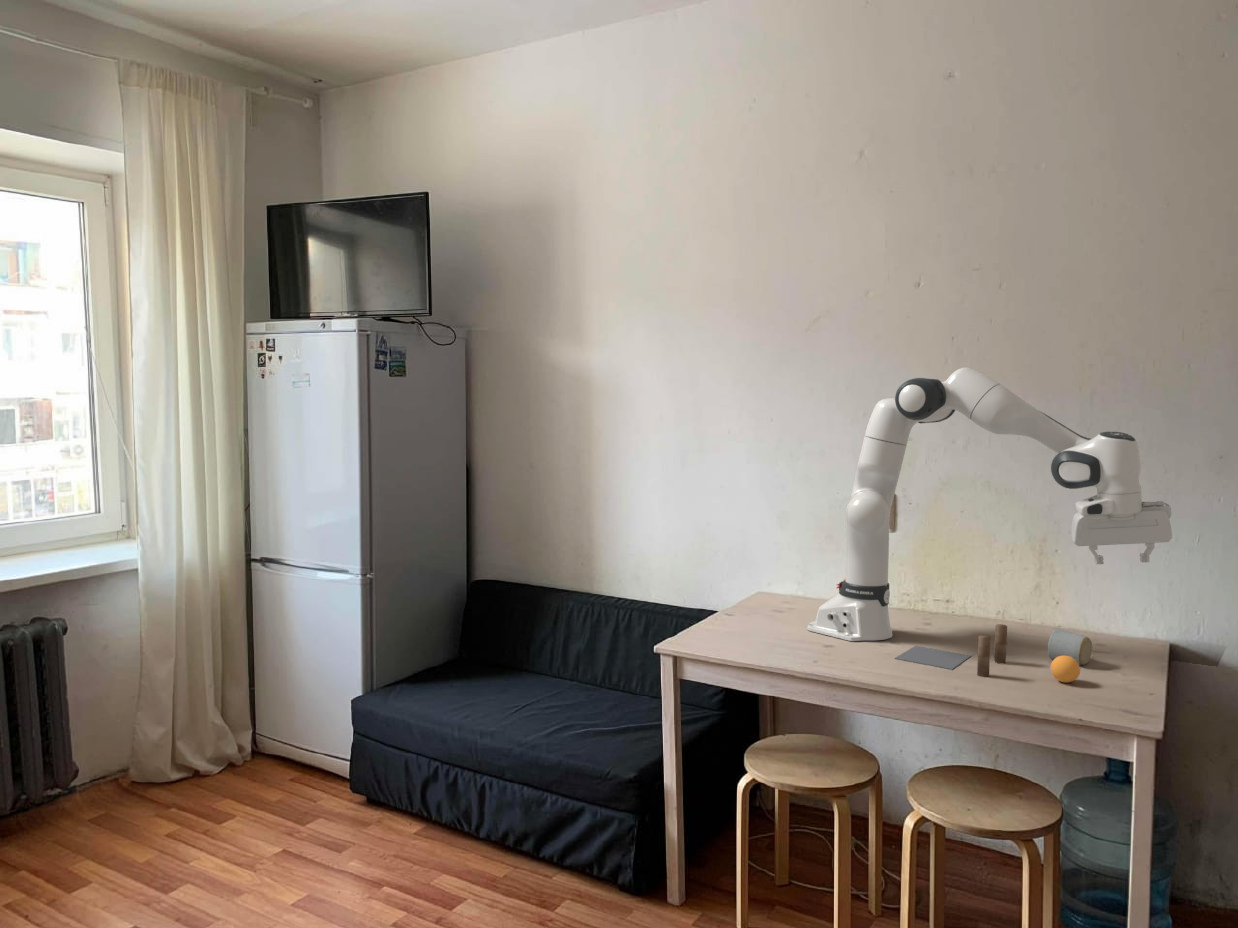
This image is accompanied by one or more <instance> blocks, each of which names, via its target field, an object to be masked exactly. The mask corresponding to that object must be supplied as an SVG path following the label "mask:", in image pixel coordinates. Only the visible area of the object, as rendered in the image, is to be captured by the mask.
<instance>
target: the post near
mask: <svg viewBox="0 0 1238 928" xmlns="http://www.w3.org/2000/svg"><path fill="white" fill-rule="evenodd" d="M977 640H978V641H977V642H978V643H977V668H976V669H977V670H976V671H977V672H976V676H979V677H984V678H986V677H987V678H988V677H990V666H991V665H990V663H991V662H990V661H991V636H989V635H979V636H978V639H977Z"/></svg>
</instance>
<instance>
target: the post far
mask: <svg viewBox="0 0 1238 928" xmlns="http://www.w3.org/2000/svg"><path fill="white" fill-rule="evenodd" d="M994 630H995V631H994V633H995V634H994V635H995V636H994V659H993V662H994V661H995V662H994V663H996V662H997V664H1000V663H1004V664H1007V642H1008V641H1007V640H1008V639H1007V637H1008V636H1007V635H1008V625H1006V624H1002V623H1001V624H1000V623H996V624H995V629H994Z"/></svg>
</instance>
